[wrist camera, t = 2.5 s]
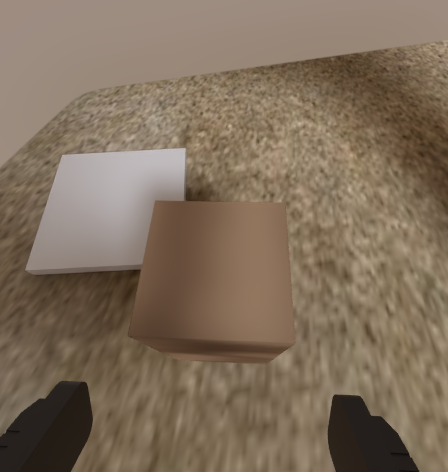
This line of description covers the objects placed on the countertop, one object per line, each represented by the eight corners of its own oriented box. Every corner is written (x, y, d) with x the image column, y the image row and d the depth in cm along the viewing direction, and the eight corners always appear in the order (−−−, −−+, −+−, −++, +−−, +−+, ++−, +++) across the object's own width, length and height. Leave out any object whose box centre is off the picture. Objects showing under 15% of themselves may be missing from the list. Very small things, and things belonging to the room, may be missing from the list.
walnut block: (264, 278, 21) (285, 202, 13) (266, 364, 18) (295, 342, 10) (187, 276, 22) (155, 200, 13) (177, 360, 19) (127, 335, 10)
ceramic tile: (186, 155, 28) (185, 148, 27) (183, 267, 22) (181, 262, 21) (67, 162, 28) (62, 154, 27) (33, 275, 22) (25, 270, 21)
